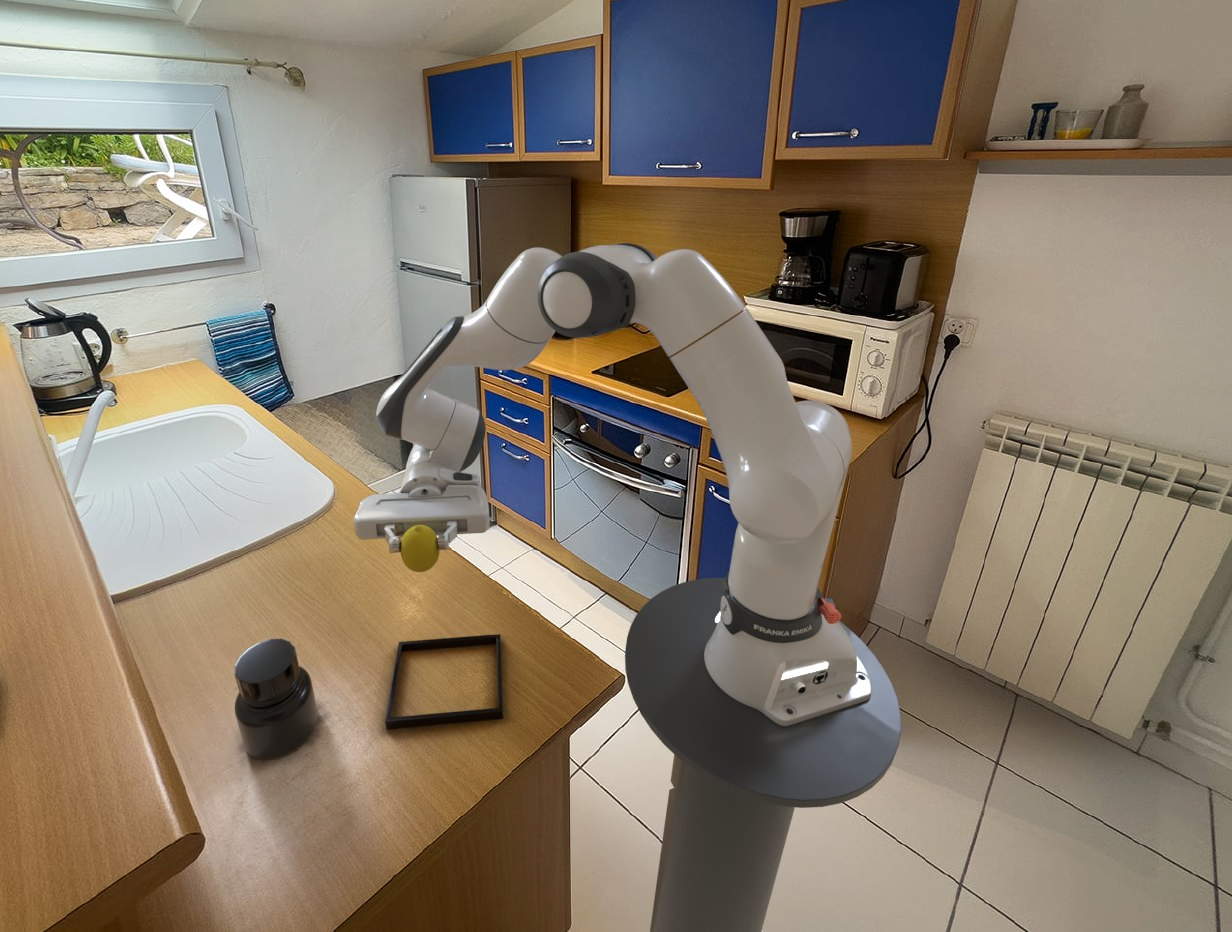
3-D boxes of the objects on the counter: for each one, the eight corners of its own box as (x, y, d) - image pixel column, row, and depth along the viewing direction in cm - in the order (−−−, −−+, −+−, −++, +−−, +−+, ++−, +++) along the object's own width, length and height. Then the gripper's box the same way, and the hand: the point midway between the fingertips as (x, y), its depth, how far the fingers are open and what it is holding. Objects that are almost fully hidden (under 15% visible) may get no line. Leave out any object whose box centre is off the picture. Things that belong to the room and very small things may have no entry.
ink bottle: (322, 689, 80) (309, 623, 76) (322, 746, 73) (307, 677, 68) (244, 711, 77) (225, 643, 73) (235, 773, 70) (214, 702, 65)
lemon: (413, 556, 88) (407, 512, 85) (447, 561, 87) (443, 517, 84) (396, 580, 83) (390, 535, 80) (432, 586, 82) (427, 541, 79)
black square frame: (500, 641, 89) (500, 633, 88) (503, 718, 77) (503, 711, 76) (399, 649, 87) (398, 641, 86) (385, 730, 75) (384, 721, 74)
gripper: (360, 480, 93) (341, 533, 80) (488, 474, 95) (489, 525, 82) (364, 513, 95) (346, 569, 82) (489, 506, 97) (490, 561, 85)
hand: (419, 547), depth 82 cm, fingers closed on lemon, 5 cm apart
